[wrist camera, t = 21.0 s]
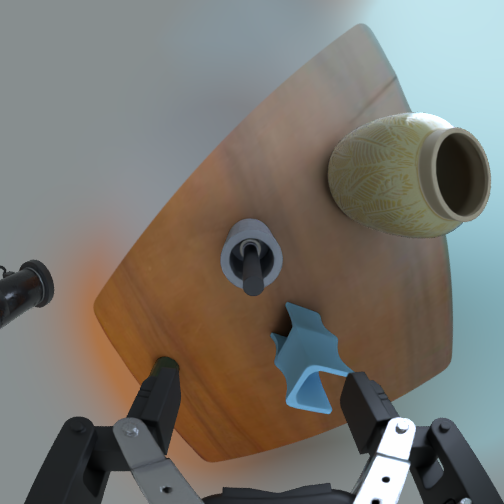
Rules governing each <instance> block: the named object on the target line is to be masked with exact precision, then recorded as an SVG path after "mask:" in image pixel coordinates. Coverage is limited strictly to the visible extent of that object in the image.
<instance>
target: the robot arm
mask: <svg viewBox="0 0 504 504" xmlns="http://www.w3.org/2000/svg"><path fill="white" fill-rule="evenodd" d="M0 268H1V269H3V270H4V272H3V279H1V280H0V329H1V328H3V327H4V326H5V325H7V324H8V323H10V322H11V321H12V320H14V319H15V318H17V317H18V316H20V315H21V314H23V313H24V312H26V311H27V310H29V309H30V308H32V307H34V306H36V305H37V304H39V303H40V302H42V301H43V300H44V297H45V285H44V281H43V279H42V277H41V275H40V274H39V273H38V271H37V270H35V269H34V268H32V267H26V268H24V269H23V270H21V271H19V272H16V273H14V272H10V271H9V272H7V273H6V269H5V268H4V267H3V266H0ZM180 401H181V391H180V381H179V371H178V369H175V368H167V367H162V368H161V370H160V372H159V374H158V377H157V376H150V377H148V378H147V379H146V380H145V381H143V383H142V385H141V387H140V390H139V392H138V394H137V396H136V398H135V400H134V402H133V404H132V406H131V409H130V411H129V413H128V415H127V417H126V418H123V419H121V420H119V421H117V422H116V423H115V425H114V426H108V427H107V426H105V427H104V426H94V425H93V423H92V422H91V421H90V420H89V419H87V418H84V417H73V418H70V419H68V420H67V421H66V422H65V423H64V425H63V427H62V429H61V430H60V433H59V434H58V436H57V438H56V440H55V441H54V443H53V446H52V447H51V449H50V451H49V453H48V455H47V457H46V459H45V461H44V463H43V465H42V467H41V469H40V471H39V473H38V475H37V477H36V479H35V481H34V483H33V485H32V487H31V489H30V492H29V494H28V496H27V498H26V501H25V503H24V504H101V501H102V498H103V495H104V491H105V488H106V485H107V481H108V478H109V475H110V472H111V471H131V473H132V475H133V477H134V479H135V481H136V482H137V484H138V486H139V488H140V490H141V491H142V493H143V495H144V496H145V498H146V500H147V501H148V503H149V504H397V501H398V499H399V496H400V493H401V491H402V488H403V485H404V482H405V479H406V476H407V473H408V470H409V469H410V472H411V474H412V476H413V479H414V481H415V483H416V485H417V488H418V490H419V493H420V495H421V498H422V500H423V503H424V504H504V503H503V501H502V499H501V497H500V496H499V494H498V492H497V490H496V488H495V487H494V485H493V483H492V482H491V480H490V478H489V476H488V475H487V473H486V472H485V470H484V468H483V467H482V465H481V463H480V462H479V460H478V458H477V457H476V455H475V454H474V452H473V451H472V449H471V448H470V446H469V444H468V443H467V441H466V440H465V438H464V437H463V435H462V434H461V432H460V431H459V429H458V428H457V426H456V425H455V424H454V422H452V421H451V420H449V419H446V418H438V419H435V420H434V421H433V422H432V424H431V426H428V427H427V426H426V427H425V426H423V427H422V426H421V427H419V426H415V425H414V423H413V422H412V421H410V420H409V419H407V418H402V417H399V415H398V413H397V412H396V410H395V408H394V407H393V405H392V404H391V402H390V400H389V399H388V397H387V395H386V394H385V392H384V391H383V389H382V388H381V386H380V385H379V384H377V383H376V382H375V381H373V380H371V381H370V380H369V379H368V377H367V376H366V374H365V372H353V373H348V375H347V377H346V381H345V384H344V387H343V391H342V394H341V398H340V405H341V409H342V411H343V413H344V416H345V418H346V421H347V423H348V426H349V428H350V431H351V433H352V435H353V438H354V440H355V443H356V445H357V448H358V451H359V453H360V454H365V453H369V455H370V457H369V459H368V461H367V463H366V465H365V467H364V469H363V471H362V473H361V475H360V477H359V479H358V481H357V483H356V485H355V486H354V488H353V490H352V491H351V493H349V492H346V491H342V490H335V489H331V485H330V483H325V484H318V485H309V486H303V487H300V488H296V489H293V490H289V491H285V492H282V493H273V492H268V491H262V490H256V489H251V488H228V487H223V493H221V494H215V495H211V496H207V497H205V498H203V499H200V497H199V496H198V495H197V494H196V492H195V491H194V490H193V489H192V488H191V486H190V485H189V483H188V482H187V481H186V480H185V478H184V477H183V476H182V474H181V473H180V472H179V470H178V469H177V467H176V466H175V465H174V463H173V462H172V461H171V459H170V458H166V457H165V455H167V451H168V448H169V444H170V440H171V436H172V432H173V429H174V425H175V421H176V417H177V414H178V410H179V406H180ZM438 458H439V459H440V461H441V463H442V465H443V468H444V471H443V470H442V468H441V466H440V464H439V462H438V460H437V459H438Z"/></svg>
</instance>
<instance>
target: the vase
mask: <svg viewBox="0 0 504 504" xmlns="http://www.w3.org/2000/svg"><path fill="white" fill-rule="evenodd" d="M328 184H329V188H330V191H331V194H332V196H333V198H334V201H335V202H336V204H337V205H338V207H339V208H340V209H341V210H342V211H343V213H344V214H345V215H347V216H348V217H349V218H350V219H352V220H353V221H355V222H357V223H359V224H361V225H363V226H365V227H368V228H371V229H373V230H376V231H379V232H383V233H386V234H391V235H396V236H401V237H407V238H435V237H439V236H443V235H446V234H448V233H450V232H452V231H453V230H455V229H456V228H458V227H459V226H460V225H461V224H462V223H463V222H468V221H472V220H473V219H475V218H477V217H478V216H479V215H480V214H481V213H482V211H483V210H484V208H485V206H486V204H487V202H488V199H489V195H490V189H491V173H490V167H489V162H488V159H487V156H486V154H485V151H484V149H483V148H482V146H481V144H480V143H479V141H478V140H477V139H476V138H475V137H474V136H473V135H472V134H471V133H470V132H468V131H466V130H464V129H462V128H458V127H457V128H456V127H454V126H453V125H451V124H450V123H448V122H447V121H445V120H443V119H441V118H439V117H437V116H434V115H430V114H426V113H414V112H411V113H401V114H395V115H390V116H386V117H383V118H380V119H377V120H374V121H371V122H369V123H367V124H364V125H362V126H360V127H358V128H356V129H355V130H353V131H351V132H350V133H349V134H347V135H346V136H344V137H343V138H342V139H341V140H340V141H339V142H338V144H337V145H336V147H335V148H334V150H333V152H332V154H331V156H330V160H329V164H328Z"/></svg>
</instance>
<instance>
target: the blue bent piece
mask: <svg viewBox="0 0 504 504" xmlns="http://www.w3.org/2000/svg"><path fill="white" fill-rule="evenodd" d="M285 306H286V308H287V311H288V313H289V315H290V318H291V321H292V326H293V327H292V329H291V331H290V333H289V335H288V337H284V336H281V335H278V334H275V333H271V335H270V337H271V338H272V339H273V340H274V342H275V344H276V356H275V361H274V363H275V365H276V366H277V367H278V368H279V369H280V370H281V371H282V373H283V374H284V376H285V378H286V381H287V394H286V403H287V405H289V406H291V407H294V408H298V409H303V410H309V411H314V412H320V413H325V414H330V413H331V411H332V408H331V405H330V403H329V401H328V398H327V396H326V394H325V391H324V389H323V386H322V384H321V381H320V378H319V373H318V372H319V371H324V372H328V373H333V374H337V375H341V376H345V377H347V375H348V373H353V372H354V371H353V370H351V369H350V368H349V367H347V366H346V365H345V364H344V363H343V362H342V360H341V359H340V357H339V354H338V349H337V345H338V338H337V337H336V336H335V335H333V334H332V333H331V332H329V331H328V330H327V329H326V328H325V327H324V325H323V324H322V321H321V316H320V314H319V313H317V312H314V311H312V310H309V309H306V308H303V307H300V306H298V305H295V304H292V303H289V302H287V303H286V305H285Z"/></svg>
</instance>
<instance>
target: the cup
mask: <svg viewBox="0 0 504 504" xmlns="http://www.w3.org/2000/svg"><path fill="white" fill-rule="evenodd" d="M249 238H253V239H259V242H260V246H261V252H260V255H259V261H260V266H261V271H262V276H263V281H264V287H266V286H267V285H269V284H271V283H272V282H273V281H274V280H275V279H276V278H277V276H278V275H279V273H280V270H281V268H282V262H283V256H282V252H281V248H280V246H279V245H278V243H277V241H276V240H275V238H274V236H273V235H272V233H271V231H270V230H269V228H268V227H267V226H266V225H265V224H264V223H263V222H261V221H259V220H257V219H243V220H241V221H239V222H237V223H236V224H235V225H234V226H233V227H232V228H231V229H230V231H229V234H228V236H227V239H226V242H225V244H224V247H223V250H222V252H221V267H222V270H223V273H224V275H225V276H226V277H227V279H228V280H229V281H230V282H231V283H233V284H234V285H235V286H237V287H240V288H242V289H243V256H242V255H241V253H240V241H242V240H245V239H249Z"/></svg>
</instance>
